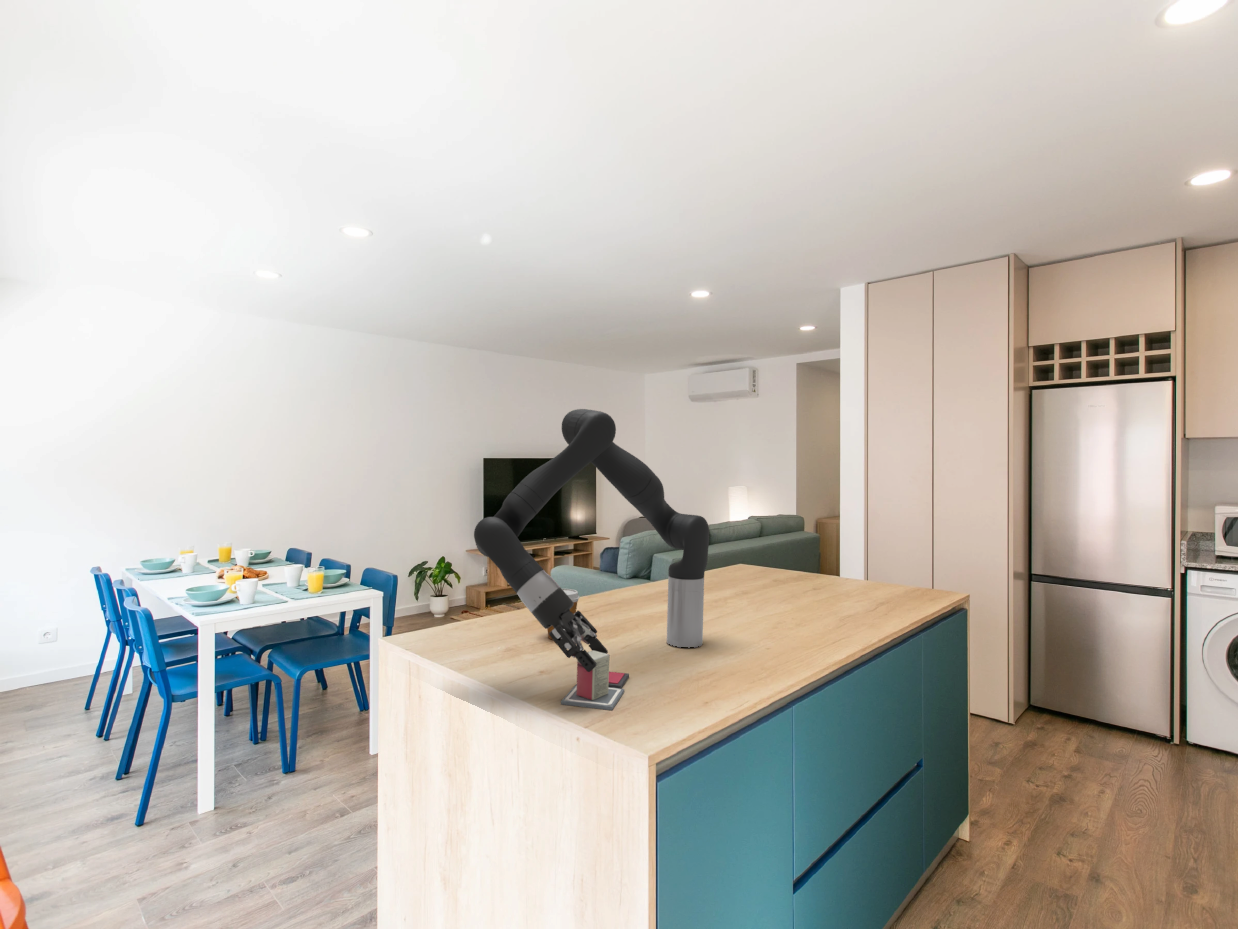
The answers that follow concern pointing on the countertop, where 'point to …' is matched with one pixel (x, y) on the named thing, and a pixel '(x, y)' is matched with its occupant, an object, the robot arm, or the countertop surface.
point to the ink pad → (617, 679)
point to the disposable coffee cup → (574, 597)
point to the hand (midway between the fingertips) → (599, 662)
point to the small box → (593, 677)
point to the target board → (599, 703)
